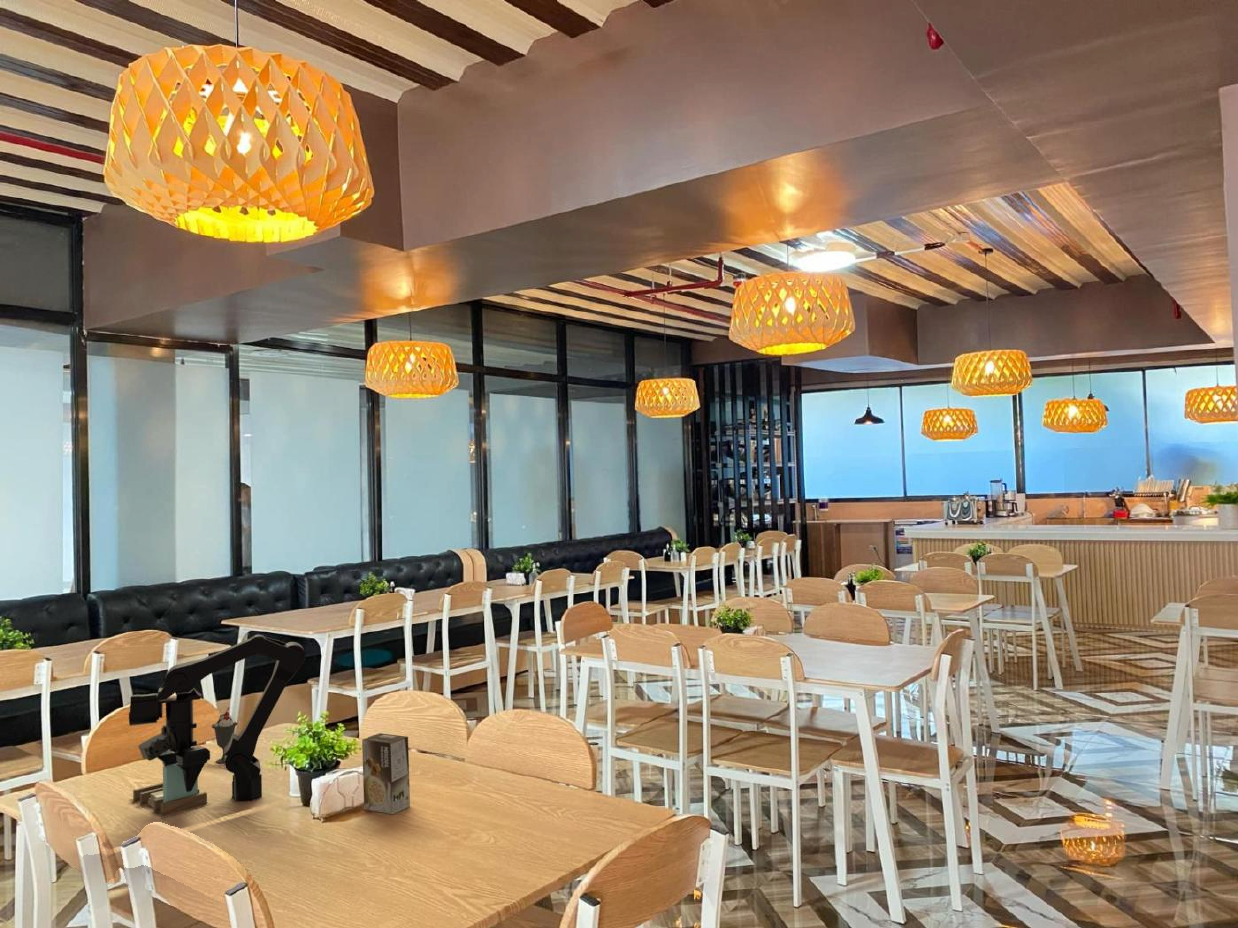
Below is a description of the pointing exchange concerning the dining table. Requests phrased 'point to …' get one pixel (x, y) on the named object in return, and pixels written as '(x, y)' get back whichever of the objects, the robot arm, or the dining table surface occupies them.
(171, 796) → the teal sheet
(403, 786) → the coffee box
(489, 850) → the dining table surface
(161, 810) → the walnut rack
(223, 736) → the sundae
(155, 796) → the offcut stack
